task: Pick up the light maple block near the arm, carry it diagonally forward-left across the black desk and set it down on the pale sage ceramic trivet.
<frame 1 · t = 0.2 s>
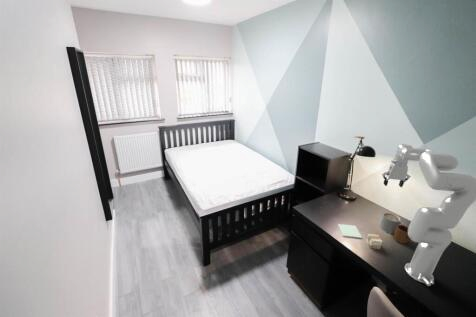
hand: (392, 185, 149), 31 cm above the table, fingers open, 9 cm apart
mug: (403, 242, 142), on the table
trivet: (349, 231, 151), on the table
coffee mug: (390, 229, 154), on the table
maple block: (372, 245, 139), on the table
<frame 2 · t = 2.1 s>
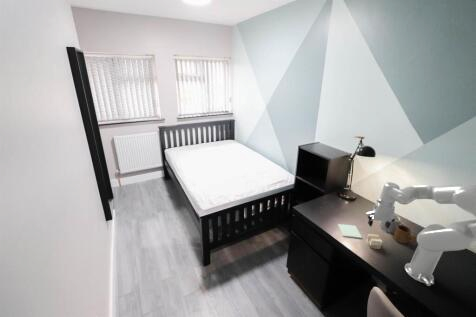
hand: (378, 226, 134), 15 cm above the table, fingers open, 9 cm apart
nothing on the table moved.
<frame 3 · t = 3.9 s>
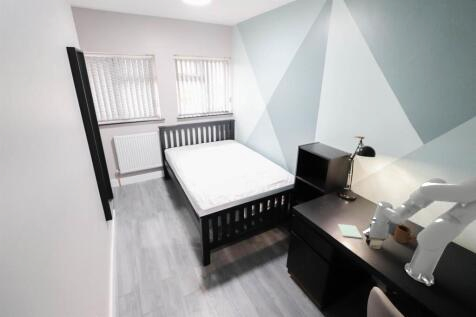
hand: (373, 243, 139), 1 cm above the table, fingers closed on maple block, 6 cm apart
maple block: (372, 244, 139), on the table, touching gripper
everything else where it was.
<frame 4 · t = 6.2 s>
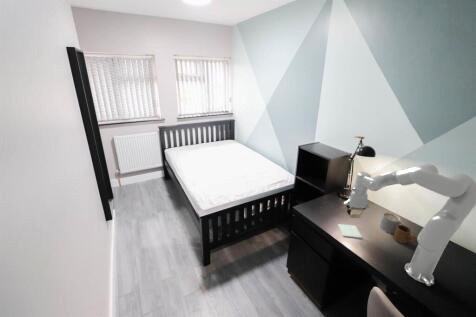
hand: (353, 214, 146), 14 cm above the table, fingers closed on maple block, 6 cm apart
maple block: (353, 215, 146), point 14 cm above the table, touching gripper
everything else where it was.
when the fingers open (3 cm above the table, at t = 8.8 s): maple block stays where it is, resting on trivet.
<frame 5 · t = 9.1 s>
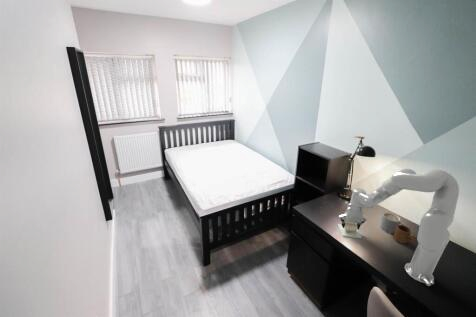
hand: (350, 227, 150), 3 cm above the table, fingers open, 9 cm apart
maple block: (349, 230, 151), point 1 cm above the table, touching trivet
everything else where it was.
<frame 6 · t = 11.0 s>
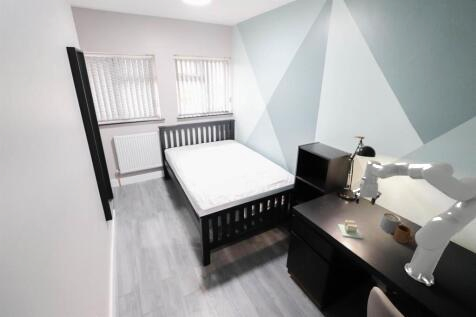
hand: (364, 203, 143), 23 cm above the table, fingers open, 9 cm apart
nothing on the table moved.
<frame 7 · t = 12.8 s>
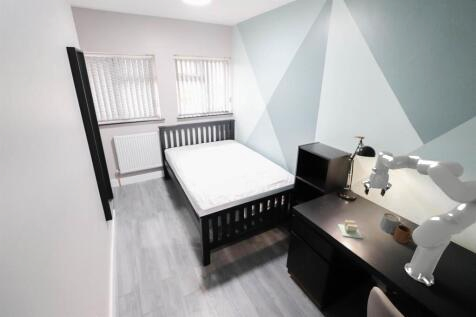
hand: (374, 194, 143), 28 cm above the table, fingers open, 9 cm apart
nothing on the table moved.
at the end: maple block inside the target area on the trivet (0.0 cm from its centre), point 0.8 cm above the trivet's base; maple block tilted 0°; the gripper is holding nothing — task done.
